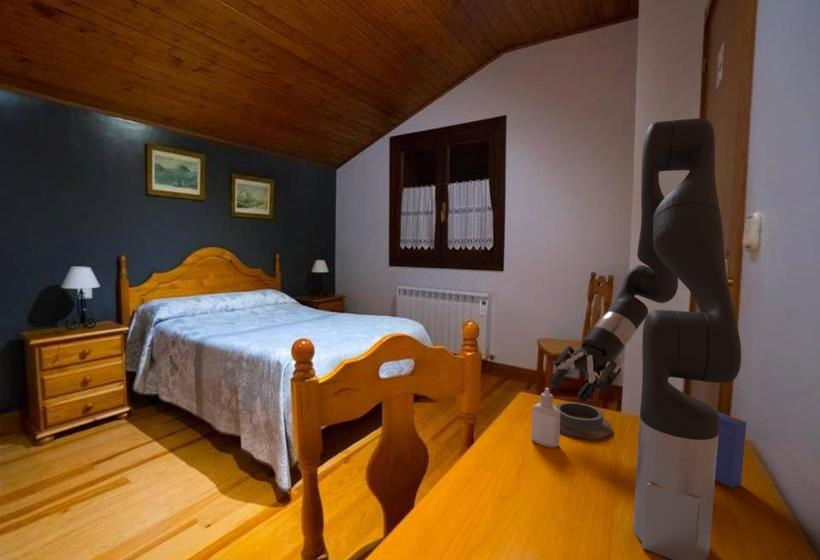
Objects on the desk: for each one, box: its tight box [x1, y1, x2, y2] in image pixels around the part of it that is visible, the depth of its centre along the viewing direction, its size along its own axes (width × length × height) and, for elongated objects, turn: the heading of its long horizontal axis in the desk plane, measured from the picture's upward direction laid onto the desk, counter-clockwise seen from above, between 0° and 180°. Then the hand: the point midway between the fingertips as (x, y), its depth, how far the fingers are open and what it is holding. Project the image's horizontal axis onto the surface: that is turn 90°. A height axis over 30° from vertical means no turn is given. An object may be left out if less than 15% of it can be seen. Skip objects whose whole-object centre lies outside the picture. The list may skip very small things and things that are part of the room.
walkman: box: [715, 410, 747, 489], centre depth 73 cm, size 8×3×12 cm, turn 20°
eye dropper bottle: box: [530, 387, 561, 449], centre depth 85 cm, size 4×6×12 cm
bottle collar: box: [555, 401, 613, 441], centre depth 93 cm, size 14×14×4 cm
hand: (565, 392), depth 86 cm, fingers open, 8 cm apart
